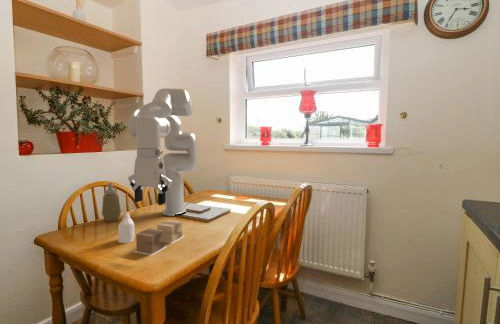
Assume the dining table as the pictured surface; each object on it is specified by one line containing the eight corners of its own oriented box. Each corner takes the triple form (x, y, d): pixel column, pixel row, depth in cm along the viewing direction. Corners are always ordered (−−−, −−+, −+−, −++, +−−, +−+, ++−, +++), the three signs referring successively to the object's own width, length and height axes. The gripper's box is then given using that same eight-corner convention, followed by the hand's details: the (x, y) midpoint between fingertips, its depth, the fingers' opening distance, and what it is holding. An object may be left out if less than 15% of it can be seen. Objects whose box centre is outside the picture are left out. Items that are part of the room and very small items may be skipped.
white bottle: (116, 211, 105) (132, 209, 108) (117, 242, 106) (133, 239, 109) (118, 215, 100) (135, 213, 103) (119, 247, 101) (136, 244, 104)
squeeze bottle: (102, 218, 136) (101, 182, 134) (121, 217, 139) (120, 181, 137) (101, 223, 128) (99, 184, 127) (120, 221, 131) (119, 183, 130)
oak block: (168, 234, 112) (167, 219, 111) (182, 236, 110) (181, 221, 109) (157, 240, 106) (157, 224, 105) (172, 242, 103) (171, 226, 103)
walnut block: (149, 244, 102) (149, 228, 101) (164, 246, 99) (164, 230, 99) (136, 251, 95) (136, 234, 95) (152, 254, 93) (151, 236, 93)
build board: (163, 234, 115) (163, 231, 115) (193, 239, 111) (193, 235, 110) (123, 255, 95) (122, 252, 95) (157, 262, 90) (157, 258, 90)
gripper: (177, 153, 95) (177, 202, 97) (136, 151, 101) (137, 197, 103) (163, 155, 88) (164, 208, 90) (120, 153, 94) (122, 202, 96)
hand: (150, 202), depth 96 cm, fingers open, 9 cm apart
